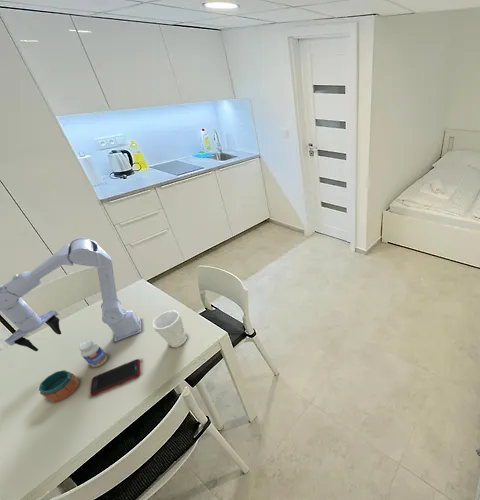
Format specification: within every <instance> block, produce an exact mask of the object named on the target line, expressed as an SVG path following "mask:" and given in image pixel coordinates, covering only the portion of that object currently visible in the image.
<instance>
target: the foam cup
mask: <svg viewBox="0 0 480 500" xmlns="http://www.w3.org/2000/svg"><path fill="white" fill-rule="evenodd" d="M151 325H152V328H153V329H154V331H155V332H156V333H158V334H159V336H160V337H161V338H162V339H163V340H164V342H166V343H167V344H168V345H169V346H170V347H171V348H178V347H180V346H183V345H184V344H185V342H187V332H186V329H185V326H184V324H183V318H182V316H181V314H180V312H179V311H177V310H175V309H174V310H171V309H170V310H165V311H164V312H161V313H160V314H158V315H157V316H156V317H155V318H154V319H153V321H152V323H151Z"/></svg>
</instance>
